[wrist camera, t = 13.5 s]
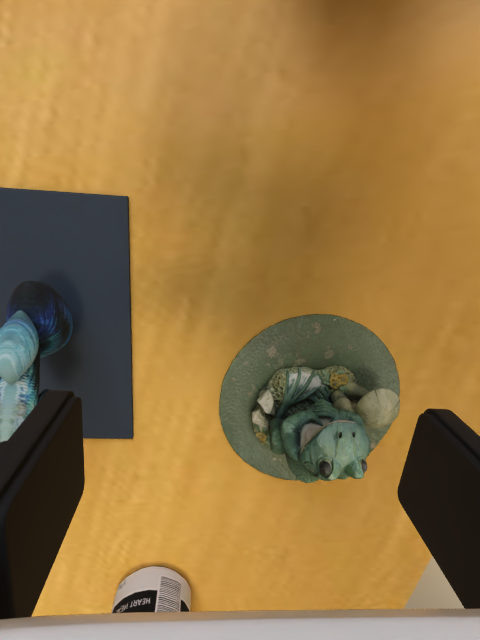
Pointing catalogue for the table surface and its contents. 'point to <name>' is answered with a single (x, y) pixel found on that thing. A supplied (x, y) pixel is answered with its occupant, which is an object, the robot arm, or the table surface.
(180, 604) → the supplement can
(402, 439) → the table surface
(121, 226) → the mat
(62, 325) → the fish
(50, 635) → the robot arm
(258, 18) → the table surface
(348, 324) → the frog figurine
